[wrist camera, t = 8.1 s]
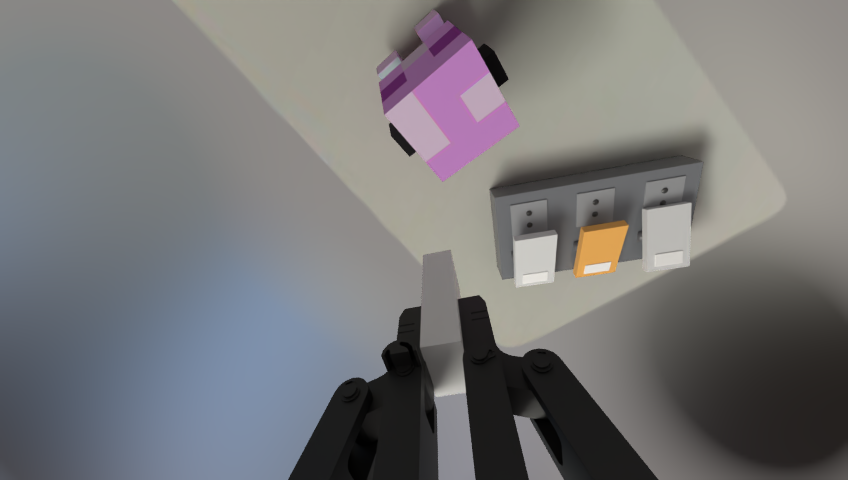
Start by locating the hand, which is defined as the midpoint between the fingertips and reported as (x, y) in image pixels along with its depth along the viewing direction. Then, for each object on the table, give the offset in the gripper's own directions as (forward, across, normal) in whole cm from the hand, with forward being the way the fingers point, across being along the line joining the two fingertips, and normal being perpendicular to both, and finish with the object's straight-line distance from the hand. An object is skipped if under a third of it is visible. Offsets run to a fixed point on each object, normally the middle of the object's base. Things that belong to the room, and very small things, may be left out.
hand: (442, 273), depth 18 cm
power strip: (+26, +18, -12) cm, 34 cm away
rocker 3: (+22, +26, -15) cm, 37 cm away
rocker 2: (+22, +18, -14) cm, 32 cm away
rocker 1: (+22, +10, -14) cm, 28 cm away
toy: (+26, +2, +8) cm, 28 cm away
